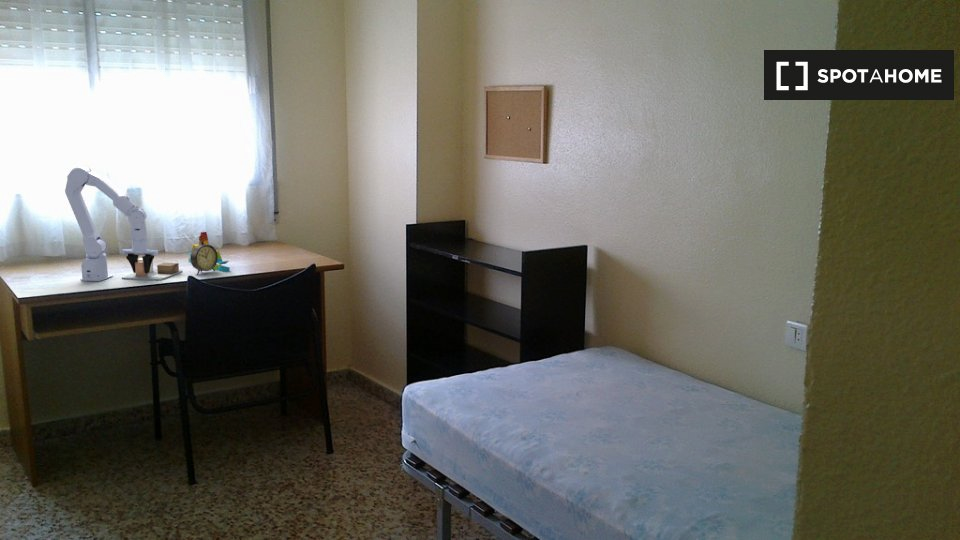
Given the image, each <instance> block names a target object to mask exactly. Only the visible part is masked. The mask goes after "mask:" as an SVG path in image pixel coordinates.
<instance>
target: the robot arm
mask: <svg viewBox="0 0 960 540" xmlns="http://www.w3.org/2000/svg"><path fill="white" fill-rule="evenodd" d="M66 177H67V179H66V185H65V189H64V192H65V195H66V198H67V200H68V203H69V205H70V208H71V210H72V212H73V215H74V217H75V219H76V222H77V224H78V227H79V228H80V231H81V233H82V234H81V235H82V239H83V240H82V241H83V244H84V249H83V250H84V253H85V254H86V255H85V256H86V257H85V259H83V260H82V262H81V277H82V278H80V281H83V282H84V281H85V282H86V281H87V282H101V281H104V280H107V279H109V278H113V277H114V276H113V275H111V274H110V275H109V273H108V259H107V253H106V252H105V251H106V250H107V242H106V241H105V240H104V239H103V238H102V237H101V234H100V233H99V231H97V229H96V227H95V225H94V221H93V220H92V219H93V218H92V217H91V214H90V211H89V210H88V206H87V205H86V203H85V200H84V198H83V195H82V190H83V189H84V188H85V185H86V186H90V187H95V188H96V189H98V190H99V191H100V192H102V193H103V194H104V195H105V196H106V197H108V198H109V199H110V200H112V205H113V206H114V208H116V209H117V210H118V211H119V212H120V213H122V214H123V215H124V216H125V217H127V218H128V222H130V239H131V240H130V241H131V248H124V249H121V255H124V256H125V255H126V256H125V258H126V260H127V261H128V262H129V265H130V266H131V270H132V272H133V273H135V262H138V259H139V256H141V258H142V259H143V262H144V269H145V273H149V272H150V266H151V263H152V261H153V260H154V258H155V257H156V256H159V249H158V250H155V249H149V248H148V234H147V232H148V231H147V227H146V226H147V223H146V219H147V212H146V210H144V208H141V207H140V206H139V205H138V204H137V205H136V204H135V202H133V201H132V200H131V198H130V196H129V195H125V194H119V193H118V192H117V191H116V190H114V188H113V187H112V186H110V184H108V183H107V182H106V180H104V179H103V178H102V177H101V176H100V175H99V174H97V172H95V171H93V170H92V169H91V168H89V167H88V166H86V165H85V166H84V165H82V166H79V167H75V168H73V169H72V170H70V171H69V173H68V174H67V176H66ZM153 262H154V261H153ZM133 273H132V274H133Z"/></svg>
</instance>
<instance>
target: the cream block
mask: <svg viewBox="0 0 960 540" xmlns="http://www.w3.org/2000/svg"><path fill="white" fill-rule="evenodd" d="M138 261H143V259H142V257H139V258H138ZM153 269H154V261H152V263H151V266H150V272H152V271H153ZM150 272H149V273H150Z"/></svg>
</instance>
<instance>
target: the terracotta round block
mask: <svg viewBox="0 0 960 540" xmlns="http://www.w3.org/2000/svg"><path fill="white" fill-rule="evenodd" d="M135 273H136V276H137V277H144V276H147V275H148V273H145V269H144V262H143V261H138V262H135Z"/></svg>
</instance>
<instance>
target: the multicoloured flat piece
mask: <svg viewBox="0 0 960 540" xmlns="http://www.w3.org/2000/svg"><path fill="white" fill-rule="evenodd" d="M201 234H204V235H205V237H206V239H205V237H204V235H201ZM200 235H201V236H200ZM200 235H199V236H200V241H204V240H205V241H204V242H203V243H204V245H210V243H209V238H208V232H207V231H202V232H200ZM198 241H199V240H198ZM200 241H199V242H198V243H197V244H195V243H194V244H192V249H191V251H192V250H193V249H194V248H195V247H196V246H197V245H201V244H202V243H201V242H200ZM216 251H217V250H216ZM187 254H188V255H189V256H191V252H188V253H187ZM217 255H218V260H217V264H216V266H215V267H214V270H215V271H218V272H222V273H227V272H228V273H229V272H230V271H231V270H230V269H231V268H230V266H226V264H227V263H229V260H225V261H223V258H222V255H221V253H220V251H219V250H218V251H217ZM188 263H190V264H191V260H190V257H188ZM214 270H213V271H214Z"/></svg>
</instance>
